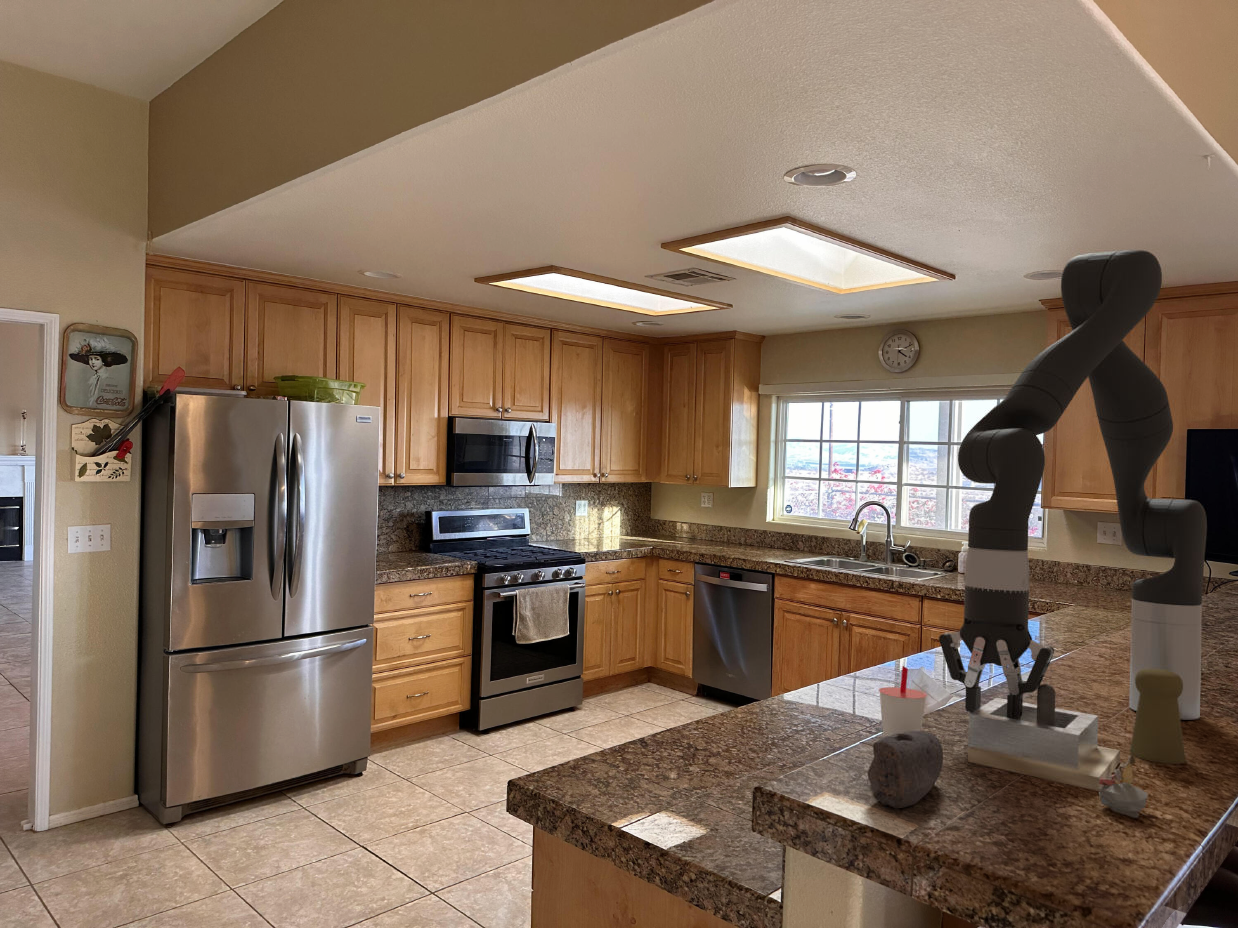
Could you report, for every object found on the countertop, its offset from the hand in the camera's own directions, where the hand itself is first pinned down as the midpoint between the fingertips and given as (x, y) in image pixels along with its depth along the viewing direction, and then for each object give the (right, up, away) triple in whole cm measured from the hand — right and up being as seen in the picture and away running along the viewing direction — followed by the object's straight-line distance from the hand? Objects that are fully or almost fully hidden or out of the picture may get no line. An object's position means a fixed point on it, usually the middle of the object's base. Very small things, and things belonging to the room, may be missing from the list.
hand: (992, 718), depth 107 cm
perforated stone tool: (-17, -3, -18) cm, 24 cm away
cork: (+21, -5, +1) cm, 22 cm away
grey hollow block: (+4, -3, -3) cm, 5 cm away
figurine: (+5, -4, -20) cm, 21 cm away
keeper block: (+5, -4, -4) cm, 7 cm away
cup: (-15, -3, -9) cm, 18 cm away
